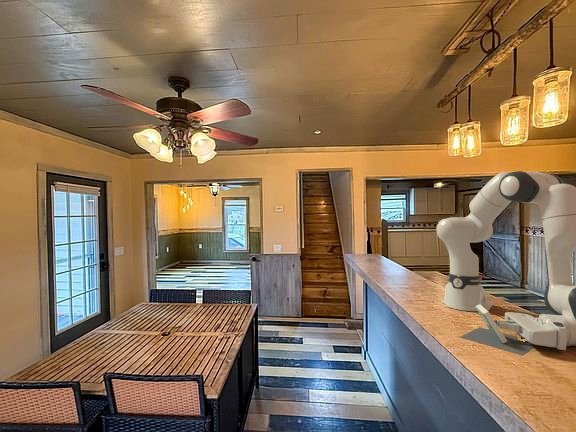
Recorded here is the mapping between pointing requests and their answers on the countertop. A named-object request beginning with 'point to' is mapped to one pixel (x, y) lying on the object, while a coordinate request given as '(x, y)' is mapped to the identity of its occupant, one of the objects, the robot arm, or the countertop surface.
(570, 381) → the countertop surface
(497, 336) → the tile
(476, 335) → the mat
